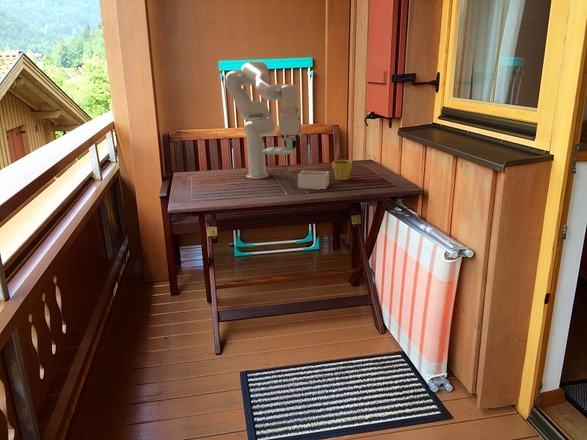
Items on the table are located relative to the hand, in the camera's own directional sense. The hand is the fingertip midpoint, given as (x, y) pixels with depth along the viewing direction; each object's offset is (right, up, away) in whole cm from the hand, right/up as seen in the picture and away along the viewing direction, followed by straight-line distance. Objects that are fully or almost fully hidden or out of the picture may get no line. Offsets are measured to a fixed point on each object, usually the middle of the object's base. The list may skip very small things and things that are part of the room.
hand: (290, 147), depth 231 cm
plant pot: (+28, -15, +16) cm, 35 cm away
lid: (-6, -2, +2) cm, 6 cm away
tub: (+12, -19, +4) cm, 23 cm away
